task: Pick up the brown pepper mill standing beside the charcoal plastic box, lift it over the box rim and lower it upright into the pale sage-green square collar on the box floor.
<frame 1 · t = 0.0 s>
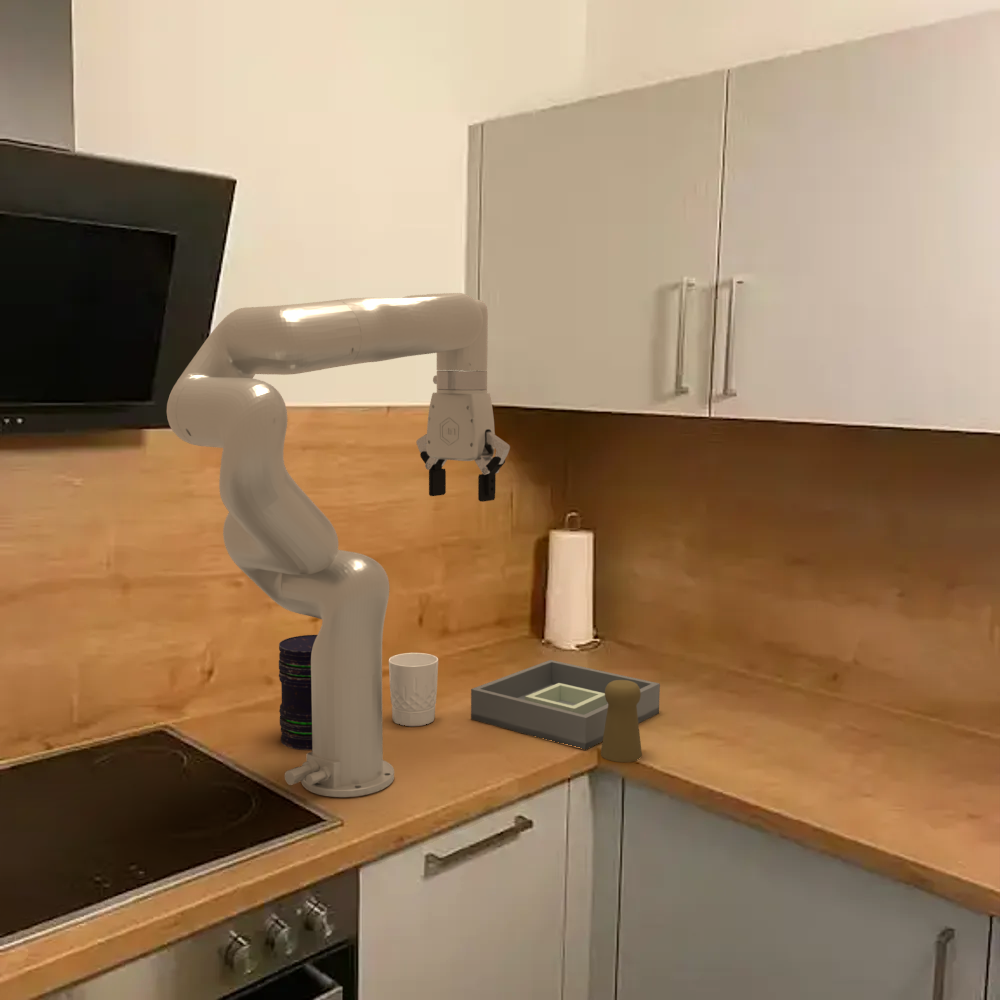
hand: (461, 497, 157), 37 cm above the countertop, tool pointing down, fingers open, 9 cm apart
open box: (566, 716, 170), on the countertop
white cup: (413, 720, 168), on the countertop
brown pepper mill: (621, 755, 153), on the countertop
storage jar: (313, 739, 159), on the countertop
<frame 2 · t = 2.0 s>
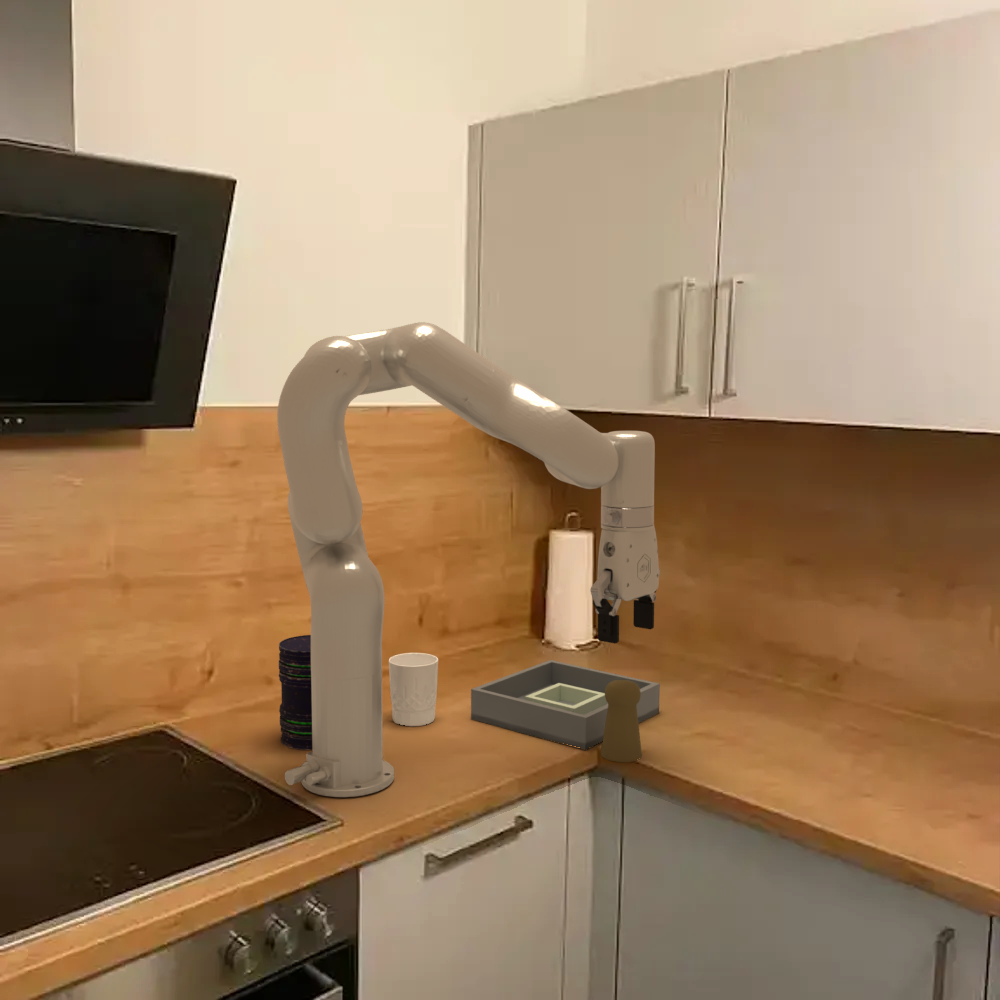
hand: (626, 634, 151), 18 cm above the countertop, tool pointing down, fingers open, 9 cm apart
nothing on the countertop moved.
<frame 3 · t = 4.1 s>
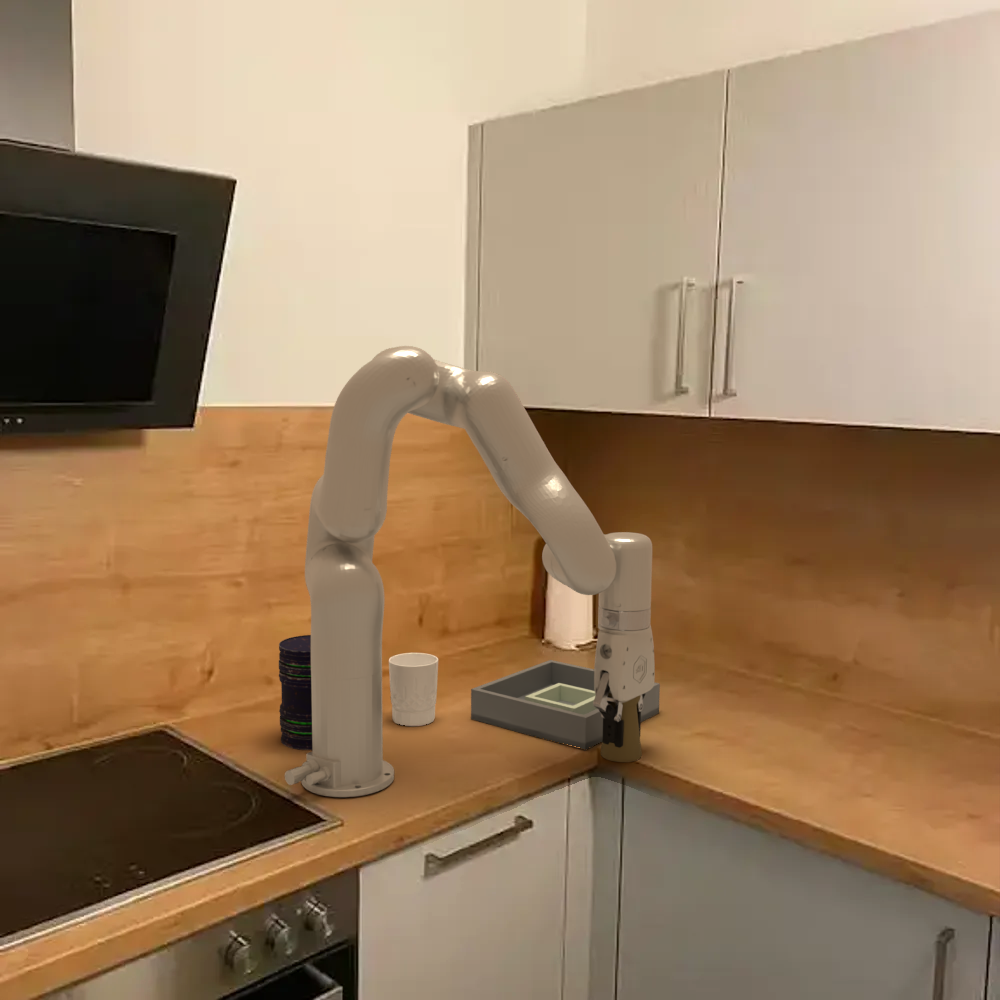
hand: (621, 739, 153), 2 cm above the countertop, tool pointing down, fingers closed on brown pepper mill, 4 cm apart
brown pepper mill: (621, 755, 153), on the countertop, touching gripper
everything else where it was.
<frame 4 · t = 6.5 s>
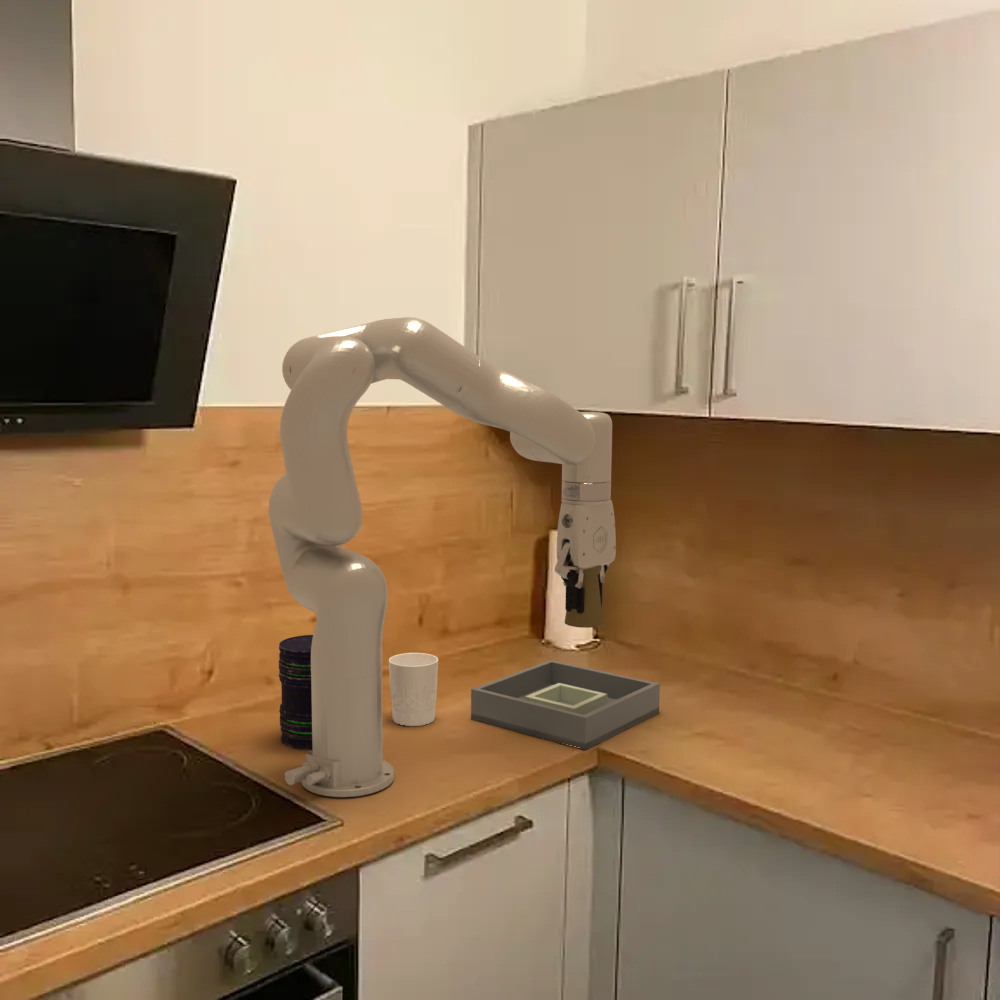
hand: (583, 608, 162), 19 cm above the countertop, tool pointing down, fingers closed on brown pepper mill, 4 cm apart
brown pepper mill: (583, 624, 163), point 17 cm above the countertop, touching gripper
everything else where it was.
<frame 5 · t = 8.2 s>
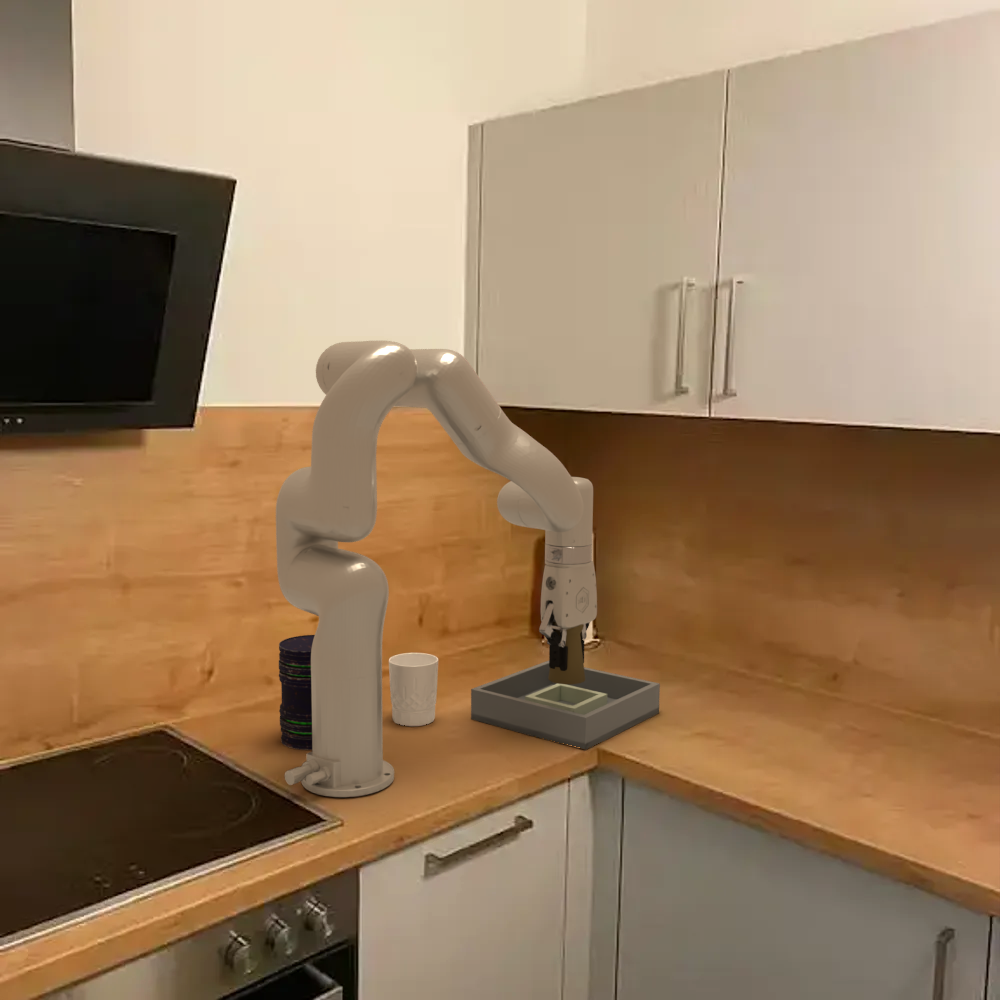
hand: (566, 664, 169), 9 cm above the countertop, tool pointing down, fingers closed on brown pepper mill, 4 cm apart
brown pepper mill: (566, 680, 169), point 6 cm above the countertop, touching gripper
everything else where it was.
when the fingers open (4 cm above the countertop, at t = 9.4 s): brown pepper mill stays where it is, resting on open box.
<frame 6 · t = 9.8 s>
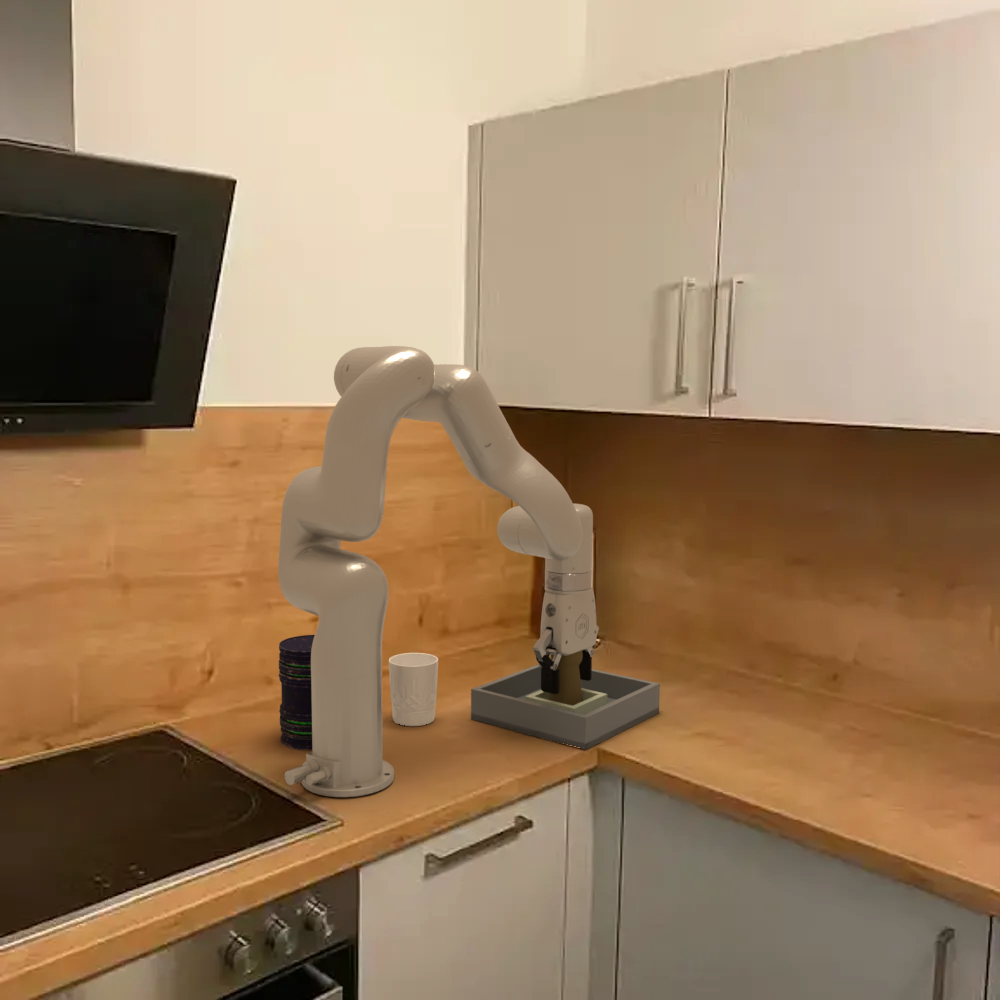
hand: (566, 685, 169), 5 cm above the countertop, tool pointing down, fingers open, 8 cm apart
brown pepper mill: (565, 711, 170), point 1 cm above the countertop, touching open box
everything else where it was.
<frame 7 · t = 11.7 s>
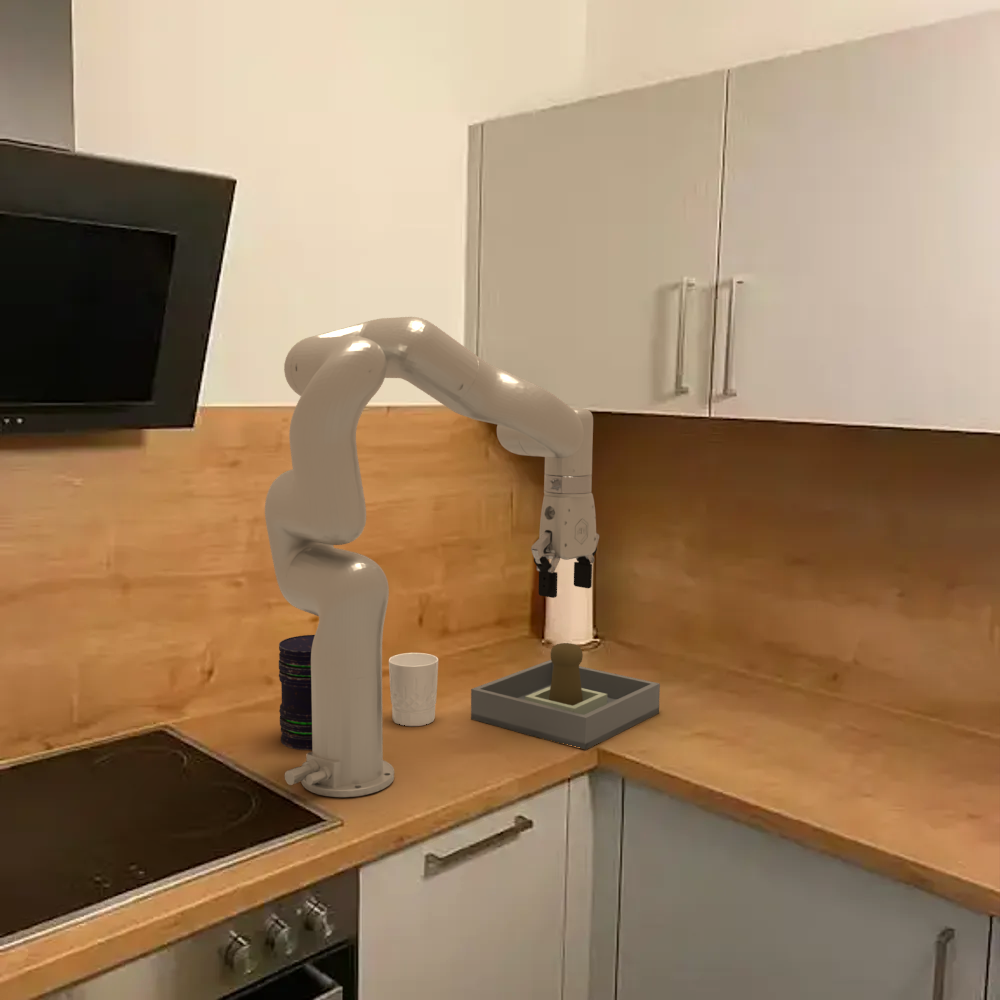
hand: (565, 591, 168), 21 cm above the countertop, tool pointing down, fingers open, 9 cm apart
nothing on the countertop moved.
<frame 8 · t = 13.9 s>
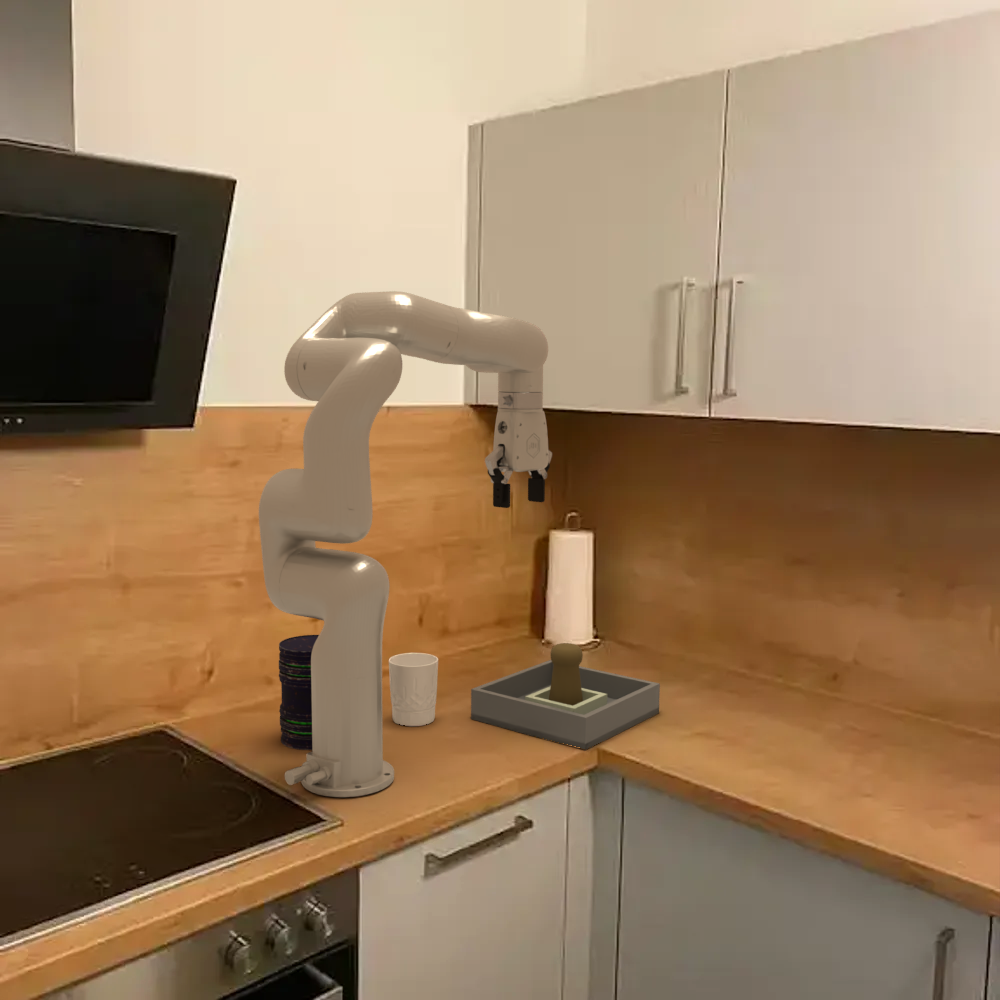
hand: (519, 504, 177), 33 cm above the countertop, tool pointing down, fingers open, 9 cm apart
nothing on the countertop moved.
at the end: brown pepper mill 0.2 cm off-centre on the open box, point 0.8 cm above the open box's base; brown pepper mill tilted 0°; the gripper is holding nothing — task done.
